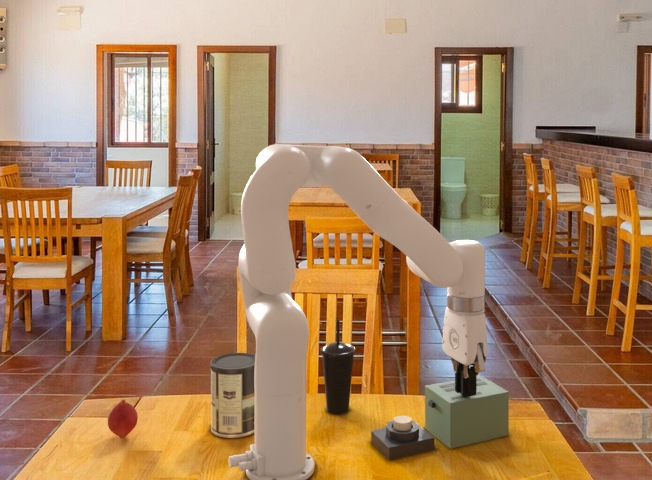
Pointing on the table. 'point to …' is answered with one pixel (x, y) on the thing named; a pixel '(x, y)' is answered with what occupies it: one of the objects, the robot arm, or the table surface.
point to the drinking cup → (337, 373)
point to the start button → (402, 423)
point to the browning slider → (461, 380)
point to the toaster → (466, 413)
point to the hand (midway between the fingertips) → (465, 392)
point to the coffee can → (232, 395)
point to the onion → (122, 419)
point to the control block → (402, 441)
